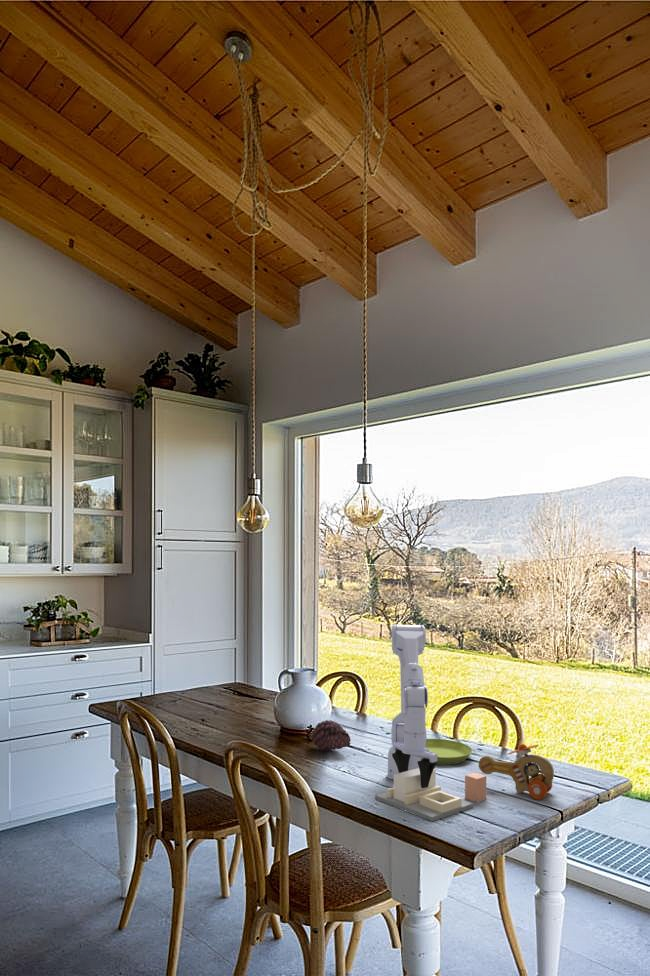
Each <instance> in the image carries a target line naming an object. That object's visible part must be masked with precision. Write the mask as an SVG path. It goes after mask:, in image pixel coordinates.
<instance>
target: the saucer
mask: <svg viewBox="0 0 650 976" xmlns="http://www.w3.org/2000/svg"><path fill="white" fill-rule="evenodd" d="M425 748H426V749H428V750H430V751H431V752H433V753H436V754H437V765H455V763H456V764H460V763H463V762H464V761H466V760H467V759H468V758H469V757H470V756H471V755H472V753H473V749H472V747H471V746H469V745H468V744H465V743H463V742H459V741H456V740H451V739H443V738H442V739H441V738H426V745H425ZM421 760H423V759H422V758H421Z"/></svg>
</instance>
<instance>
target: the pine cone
mask: <svg viewBox="0 0 650 976" xmlns="http://www.w3.org/2000/svg"><path fill="white" fill-rule="evenodd" d="M309 736H310V738H311V740H312V744H313V746H316V748H317V749H319V750H322V751H323V752H325V751H331V750H332V751H335V750H341V749H343V748H347V747H348V746H350V745H351V740H352V739H351V736H350V734H349V733H348V732H347V731H346V730H345V729H344V728H343V727H342V726H341V725H340V724H339V723H338V722H337V721H333V720H332V719H331V720H328V719H326V720H324V721H320V722H318V723H317V724H316V726H315V727H314V728H313V731H312V732H311V734H310V735H309Z"/></svg>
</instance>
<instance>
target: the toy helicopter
mask: <svg viewBox="0 0 650 976" xmlns="http://www.w3.org/2000/svg"><path fill="white" fill-rule="evenodd" d="M539 746H540V745H539V744H535V745H533V744H532V745H529V746H527V745H526V744H524V743H521V744H519V746H518V749H515V750H512V751H510V752H508V753H507V754H508V755H511V754H515V753H517V754H518V756H519V757H520V758H519V759H517V760H515V761H514V762H513V761H501V760H496V759H495V758H493V757H492V756H490V755H485V756H482V757H481V758H480V759H479V761H478V768H479V771H481V773H482V774H485V775H491V774H492V773H498V774H503V775H507V776H509V777H511V779H512V780H513V781H514V784H515V791H516V792H517V793H520V794H523V793H524V792H528V793H529V795H530V797H531V798H532V799H535V800H537V799H538V800H543V799H545V798H546V796H547V794H548V793H549V792H550V791H551V790H552V788H553V780H554V776H555V773H554V766H553V765H552V763H551V761H550V760H548V759H547V758H546V757H544V756H542V755H538V754H529V753H531V752H532V750H531V749H533V748H535V749H536V748H537V747H539ZM538 800H537V801H538Z"/></svg>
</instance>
